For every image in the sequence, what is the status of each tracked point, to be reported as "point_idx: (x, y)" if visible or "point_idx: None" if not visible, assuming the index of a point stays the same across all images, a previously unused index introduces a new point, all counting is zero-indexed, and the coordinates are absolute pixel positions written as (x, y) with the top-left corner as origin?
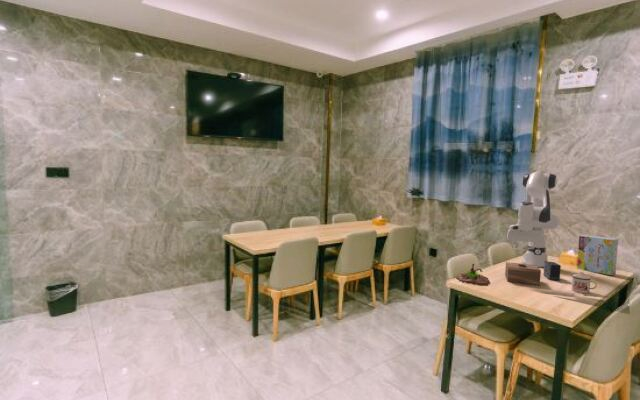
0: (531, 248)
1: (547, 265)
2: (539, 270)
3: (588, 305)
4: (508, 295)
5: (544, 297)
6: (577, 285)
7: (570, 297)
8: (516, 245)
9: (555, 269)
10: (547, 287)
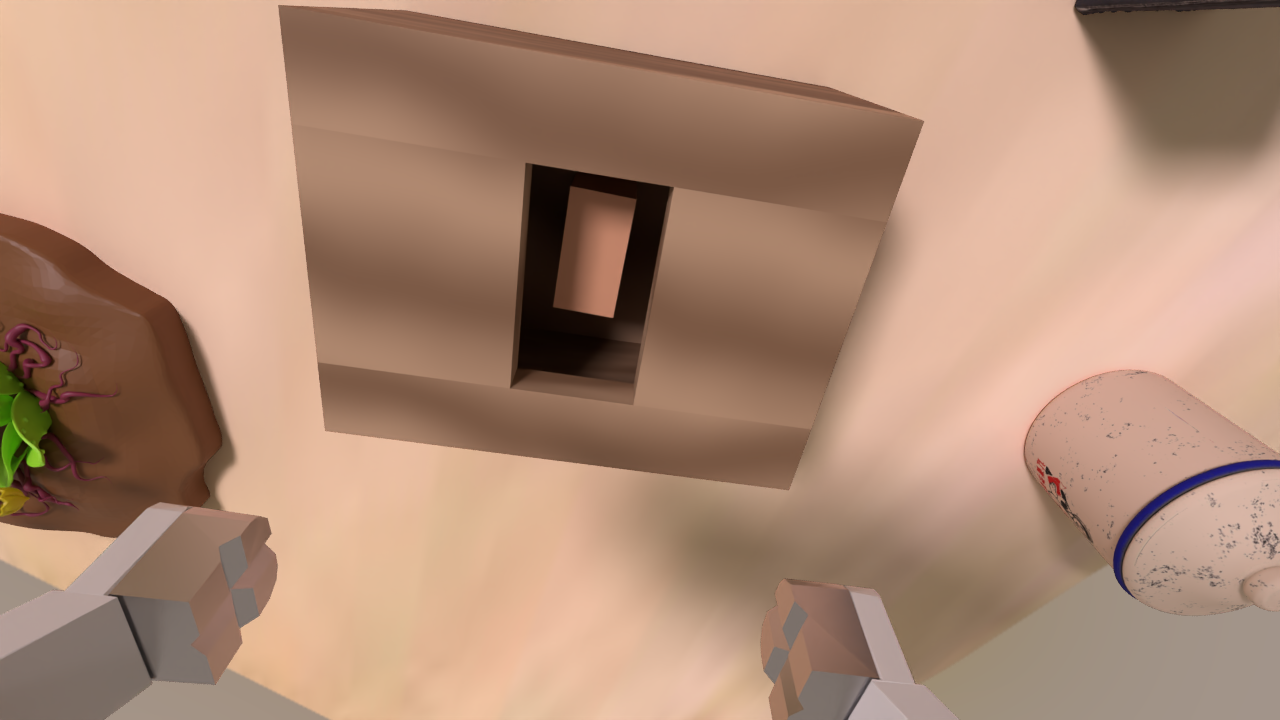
0: (772, 650)
1: None
2: (770, 482)
3: None
4: (385, 664)
5: (642, 645)
6: (1071, 519)
7: None
8: (200, 659)
9: None
10: None
